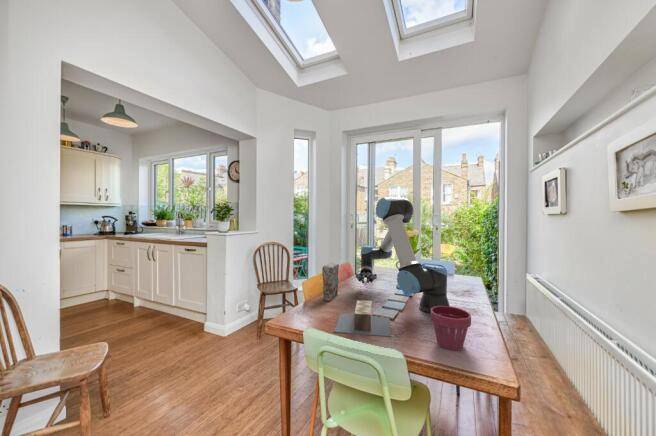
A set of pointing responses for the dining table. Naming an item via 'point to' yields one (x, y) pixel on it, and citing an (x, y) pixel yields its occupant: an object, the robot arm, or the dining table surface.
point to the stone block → (330, 281)
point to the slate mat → (378, 328)
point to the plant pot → (450, 326)
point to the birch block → (363, 316)
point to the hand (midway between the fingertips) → (365, 283)
